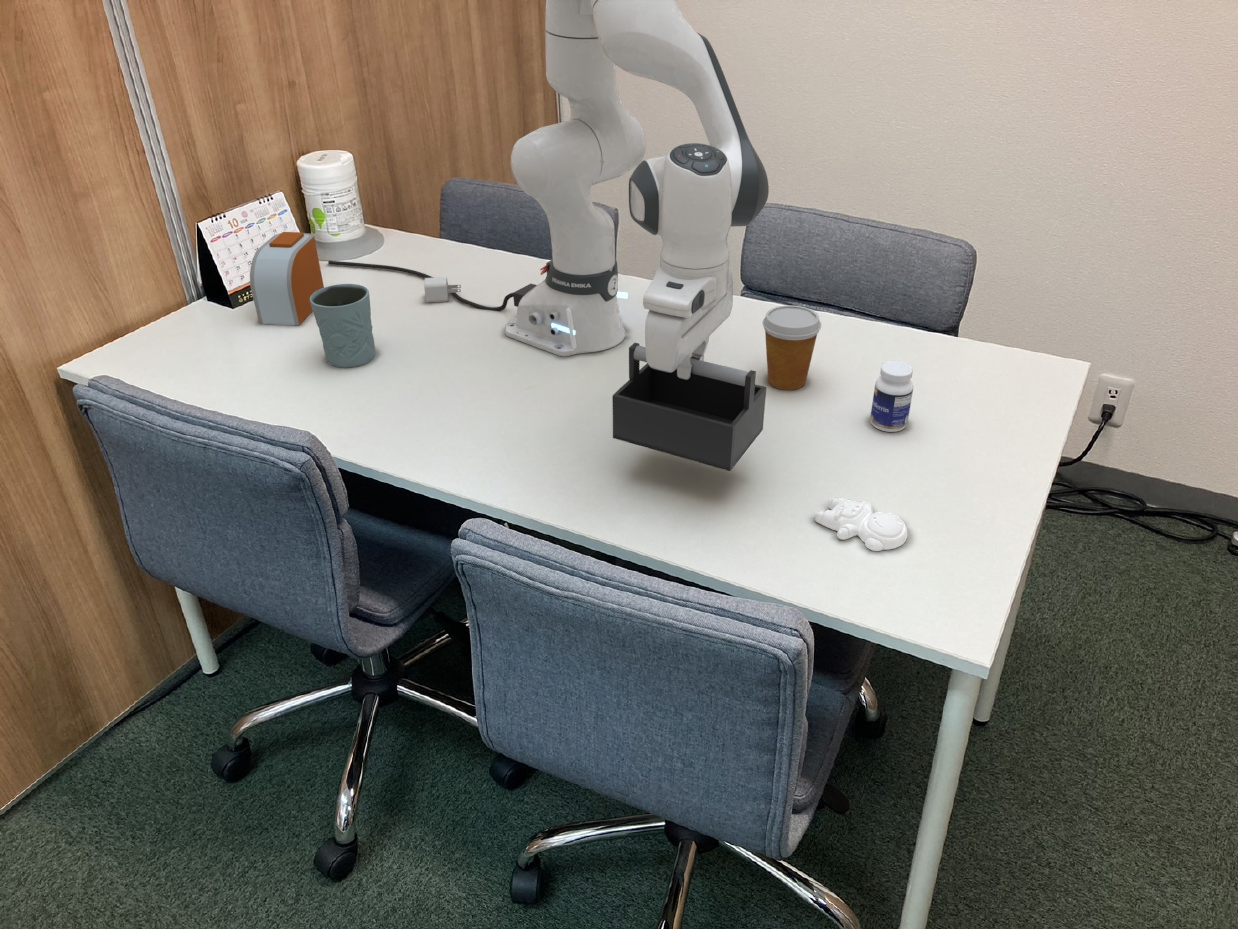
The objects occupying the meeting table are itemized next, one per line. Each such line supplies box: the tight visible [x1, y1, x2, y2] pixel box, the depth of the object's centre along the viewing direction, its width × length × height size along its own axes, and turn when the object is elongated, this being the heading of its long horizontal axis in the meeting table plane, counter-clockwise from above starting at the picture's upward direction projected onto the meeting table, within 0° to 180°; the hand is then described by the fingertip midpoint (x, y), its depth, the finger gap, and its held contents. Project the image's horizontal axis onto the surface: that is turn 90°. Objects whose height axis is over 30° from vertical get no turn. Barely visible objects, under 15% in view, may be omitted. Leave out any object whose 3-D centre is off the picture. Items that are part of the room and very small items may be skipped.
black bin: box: [611, 342, 767, 472], centre depth 138 cm, size 18×12×12 cm, turn 62°
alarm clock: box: [249, 231, 325, 326], centre depth 191 cm, size 15×8×14 cm, turn 172°
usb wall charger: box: [423, 276, 462, 303], centre depth 197 cm, size 4×7×4 cm, turn 96°
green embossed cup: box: [310, 283, 376, 369], centre depth 174 cm, size 10×10×12 cm
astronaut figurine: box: [814, 497, 908, 552], centre depth 132 cm, size 9×12×3 cm
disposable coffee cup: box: [762, 304, 822, 391], centre depth 164 cm, size 10×10×12 cm
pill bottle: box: [869, 360, 914, 433], centre depth 153 cm, size 6×6×10 cm
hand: (690, 371), depth 135 cm, fingers closed on black bin
